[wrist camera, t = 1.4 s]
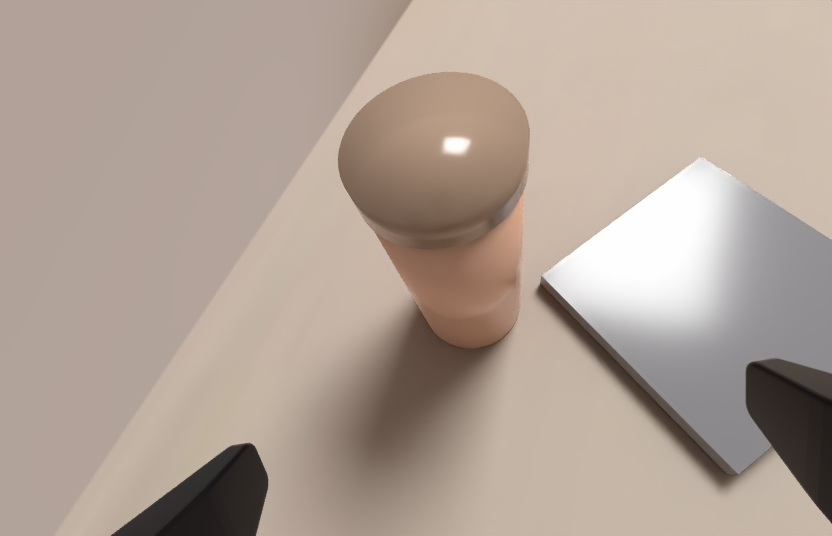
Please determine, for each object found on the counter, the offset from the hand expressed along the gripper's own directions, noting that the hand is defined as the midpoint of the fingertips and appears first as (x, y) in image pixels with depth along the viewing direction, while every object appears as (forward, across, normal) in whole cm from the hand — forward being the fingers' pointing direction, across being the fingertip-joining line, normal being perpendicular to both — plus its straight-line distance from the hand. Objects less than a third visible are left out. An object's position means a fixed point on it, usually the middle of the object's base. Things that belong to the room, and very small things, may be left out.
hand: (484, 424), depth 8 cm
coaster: (+13, -11, +5) cm, 18 cm away
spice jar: (+14, 0, +4) cm, 15 cm away
